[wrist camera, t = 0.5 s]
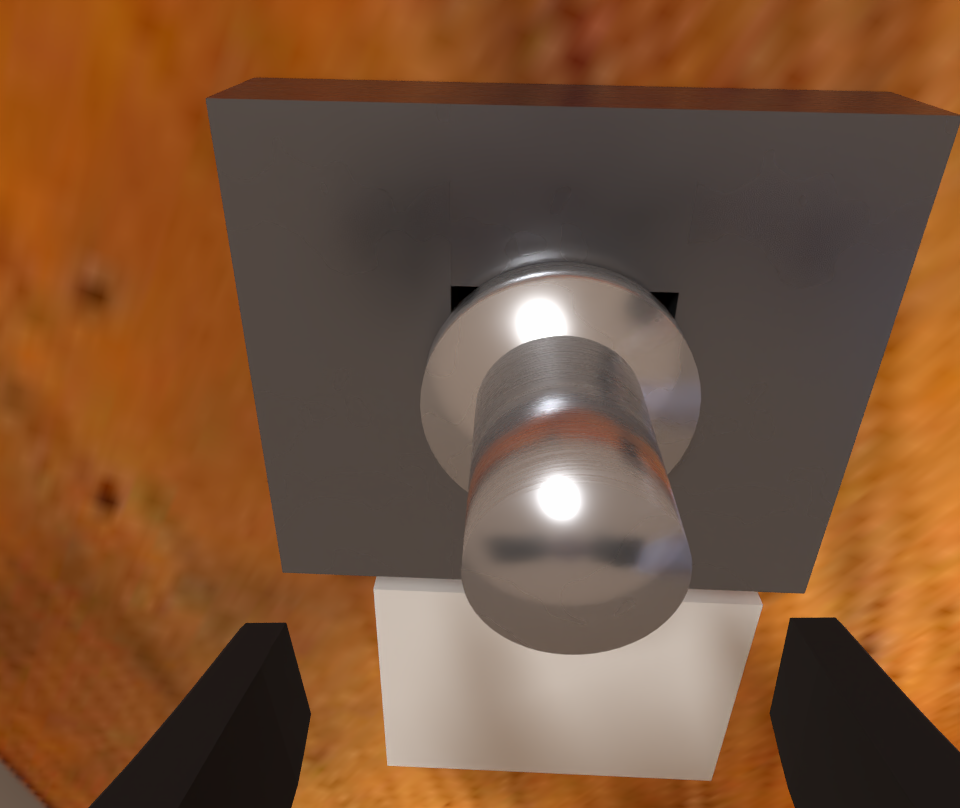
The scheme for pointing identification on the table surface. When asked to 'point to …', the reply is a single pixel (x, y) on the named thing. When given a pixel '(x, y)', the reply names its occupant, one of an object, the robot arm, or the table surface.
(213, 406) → the table surface
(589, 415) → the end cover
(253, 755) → the robot arm
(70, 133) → the table surface
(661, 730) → the mat
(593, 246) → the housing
